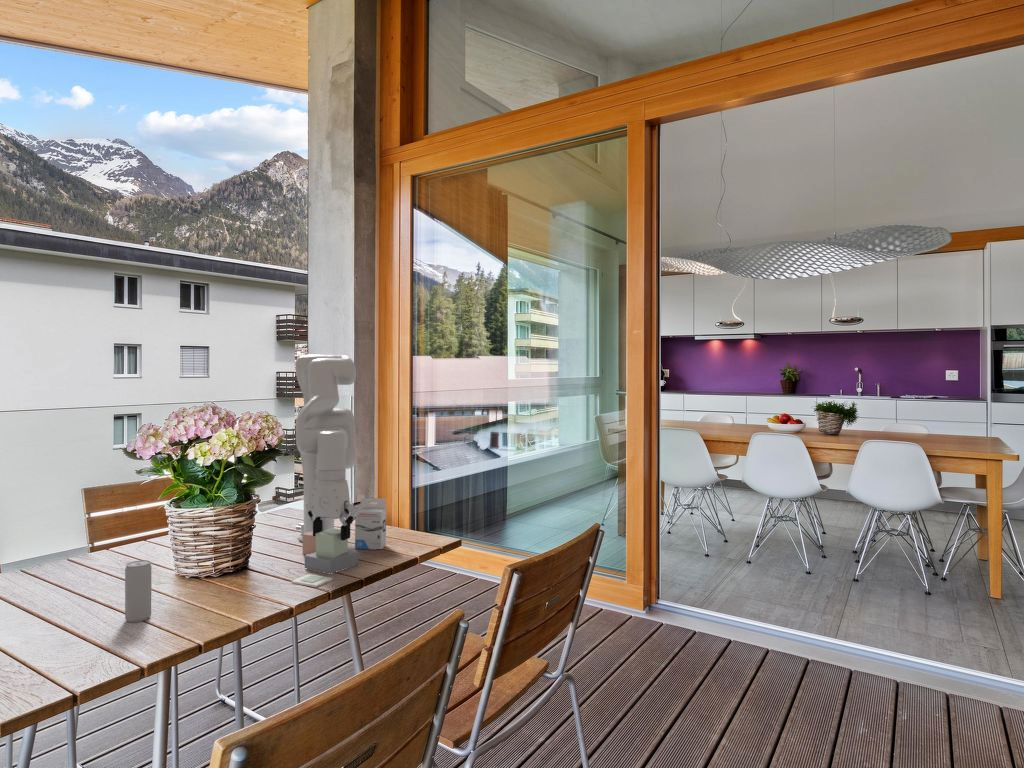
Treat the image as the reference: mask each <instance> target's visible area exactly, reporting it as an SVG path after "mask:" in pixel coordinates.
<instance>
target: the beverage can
mask: <svg viewBox="0 0 1024 768" xmlns="http://www.w3.org/2000/svg"><path fill="white" fill-rule="evenodd" d="M124 603H125V604H124V610H125V611H124V614H125V615H124V616H125V617H124V618H125V620H126V621H127V622H128V623H133V624H135V623H141V622H144V621H146V620H148V619H150V617H151V616H152V563H151V560H147V559H146V560H145V559H144V560H143V559H141V560H134V561H130V562H128V563H126V564H125V568H124Z"/></svg>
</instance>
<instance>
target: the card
mask: <svg viewBox="0 0 1024 768" xmlns="http://www.w3.org/2000/svg"><path fill="white" fill-rule="evenodd" d="M332 579H333V577H329V576H328V577H327V576H322V575H317V574H316V575H315V574H309V573H308V574H306V575H303V576H301V577H298V578H296V579H293V580H291V584H295V585H301V586H307V587H310V588H311V587H313V588H318V587H320V586H322V585H321V584H323V585H325V584H327V583H329V582H331V581H330V580H332ZM328 581H329V582H328ZM332 581H333V580H332ZM326 582H327V583H326ZM324 583H325V584H324ZM319 585H320V586H319ZM317 586H318V587H317Z"/></svg>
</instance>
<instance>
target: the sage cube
mask: <svg viewBox="0 0 1024 768" xmlns="http://www.w3.org/2000/svg"><path fill="white" fill-rule="evenodd" d="M348 543H349V540H348V539H346V540H341V528H340V529H338V528H334V529H331V528H330V529H327V530H324V531H322V532H319V533H316V556H324V557H332V558H335V557H337V556H339V555H341V554H344V553H346V552H348V550H349V545H348Z"/></svg>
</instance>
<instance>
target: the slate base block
mask: <svg viewBox="0 0 1024 768" xmlns="http://www.w3.org/2000/svg"><path fill="white" fill-rule="evenodd" d="M356 564H358V565H359V551H357V550H356V551H355V550H351V549H348V552H346V553H344V554H341V555H339V556H337V557H335V558H332V557H324V556H316V552H314V553H311V554H308V555H304V569H305V568H307V569H306V570H308V569H311V570H310V571H313V570H316V571H315V572H317V571H320V572H319V573H322V572H325V573H324V574H326V573H330V574H331V573H334V572H336V571H339V570H342V569H345V568H347V569H349V568H348V567H350V566H353V565H356ZM356 566H357V565H356ZM353 567H354V566H353ZM350 568H351V567H350ZM345 570H346V569H345ZM342 571H343V570H342ZM339 572H340V571H339ZM336 573H337V572H336ZM330 574H329V575H330ZM334 574H335V573H334ZM331 575H332V574H331Z"/></svg>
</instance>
